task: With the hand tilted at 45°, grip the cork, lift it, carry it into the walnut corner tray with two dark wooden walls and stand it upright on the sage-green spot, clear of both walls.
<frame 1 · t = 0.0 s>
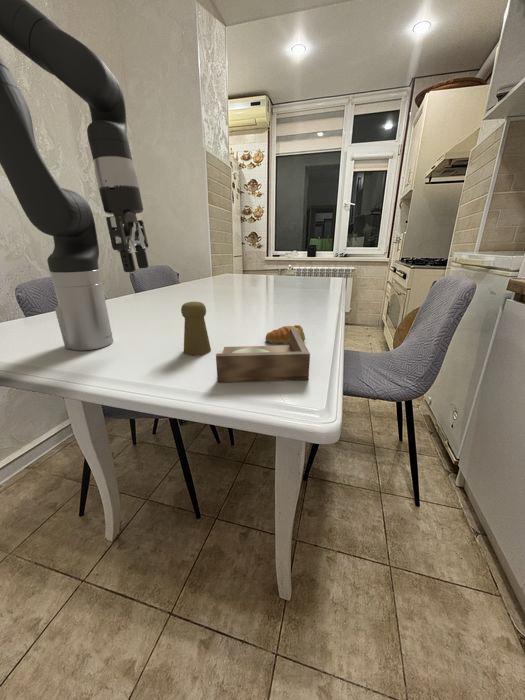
hand: (137, 269, 64), 17 cm above the table, tool pointing down, fingers open, 8 cm apart
corner tray: (261, 363, 58), on the table
cork: (197, 351, 65), on the table
pastry: (286, 342, 72), on the table
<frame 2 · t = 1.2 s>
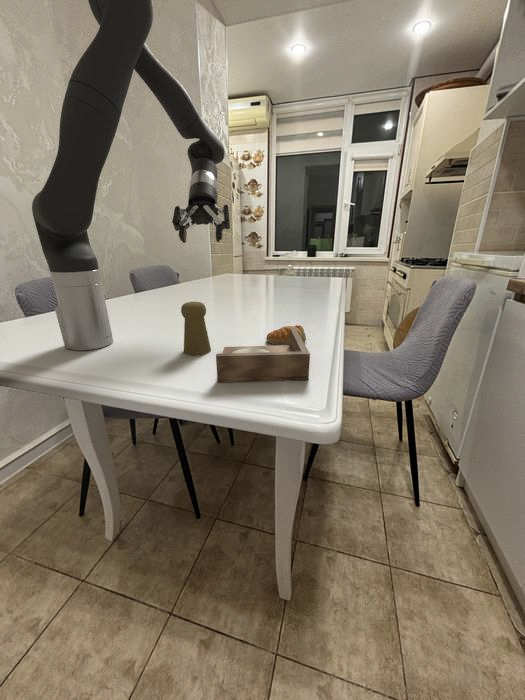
hand: (200, 240, 72), 23 cm above the table, tool tilted 45°, fingers open, 8 cm apart
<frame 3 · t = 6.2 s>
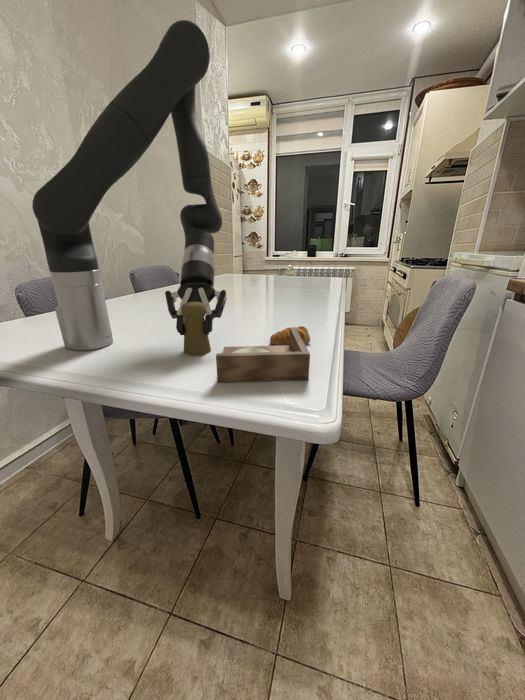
hand: (194, 333, 62), 5 cm above the table, tool tilted 45°, fingers closed on cork, 4 cm apart
cork: (197, 351, 65), on the table, touching gripper
pastry: (291, 343, 71), on the table
when the fingers open (7 cm above the table, at t = 10.9 s): cork drops 1 cm, resting on corner tray.
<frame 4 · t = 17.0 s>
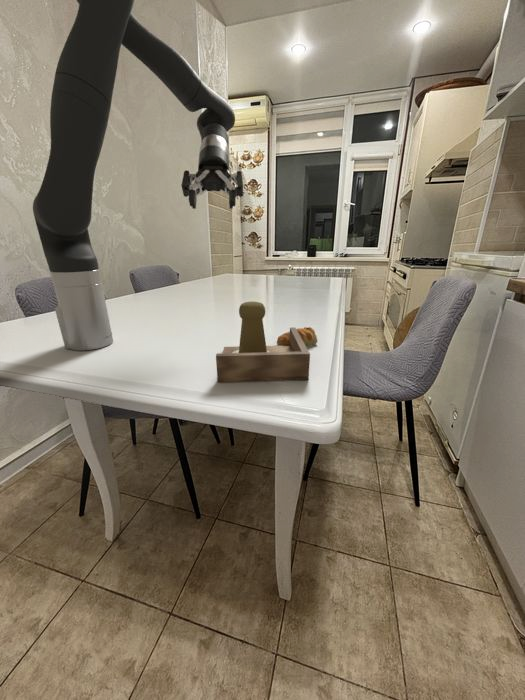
hand: (212, 205, 66), 31 cm above the table, tool tilted 45°, fingers open, 8 cm apart
cork: (252, 355, 60), point 1 cm above the table, touching corner tray
pastry: (298, 345, 70), on the table
at the end: cork inside the target area on the corner tray (0.6 cm from its centre), point 0.7 cm above the corner tray's base; cork tilted 0°; the gripper is holding nothing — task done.
